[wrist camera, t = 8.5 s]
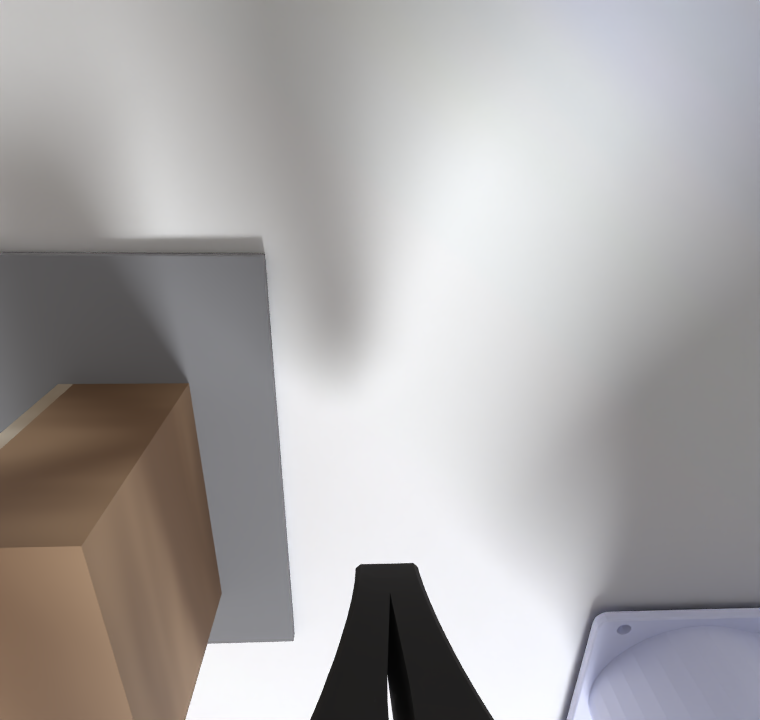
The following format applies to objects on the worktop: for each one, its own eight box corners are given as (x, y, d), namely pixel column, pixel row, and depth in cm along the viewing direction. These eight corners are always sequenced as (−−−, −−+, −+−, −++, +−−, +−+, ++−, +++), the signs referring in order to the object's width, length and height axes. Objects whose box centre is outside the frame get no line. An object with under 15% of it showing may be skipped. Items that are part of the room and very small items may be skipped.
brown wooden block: (189, 383, 14) (81, 545, 8) (221, 593, 17) (159, 807, 12) (58, 383, 14) (-138, 550, 8) (116, 595, 17) (3, 815, 12)
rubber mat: (264, 253, 13) (262, 256, 13) (294, 633, 19) (293, 641, 18) (-322, 250, 12) (-337, 253, 12) (-103, 644, 18) (-110, 652, 18)
